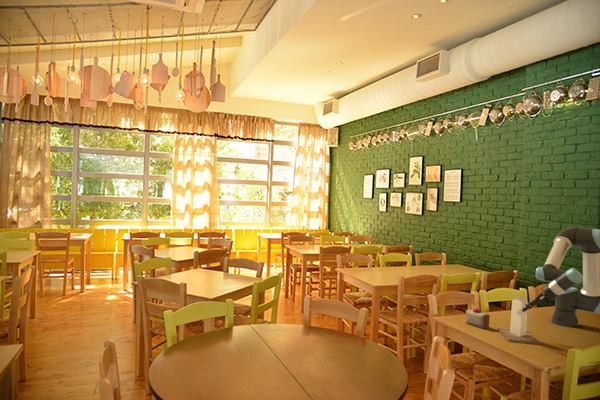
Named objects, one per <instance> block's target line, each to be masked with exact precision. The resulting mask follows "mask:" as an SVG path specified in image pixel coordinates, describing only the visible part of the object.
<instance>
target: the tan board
mask: <svg viewBox="0 0 600 400" xmlns="http://www.w3.org/2000/svg"><path fill="white" fill-rule="evenodd" d="M497 331H498V332H499V333H500V334H501V335H502V337H503V338H504V339H505V340H506V341H507V342H513V343H519V344H520V343H523V344H530V345H539V346H540V345H541V341H540V340H538V339H537V338H536V337H535V336H534V335H533V334H531V333H530V332H529V331H528V330H526V335H525V336H521V337H519V336H516V335H513V334H510V328H505V327H503V328H502V327H497Z"/></svg>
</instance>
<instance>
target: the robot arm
mask: <svg viewBox="0 0 600 400" xmlns="http://www.w3.org/2000/svg"><path fill="white" fill-rule="evenodd" d="M571 247H577V248H579V252H581V253H582V273H580V271H579V270H577V269H576V268H574V267H571V268H569V269H567V270H564V269H563V270H562V269H560V268H561V264H562V263H563V261H564V259H565V256H566V254H567V252H568V250H569V249H570V248H571ZM535 278H536V280H538V281H543V282H548V284H546V285H545V286H543V287H542V292H541V293H540V294H538V296H536V297H535V299H533V300H532V301H529V302H528V304H525V305H526V306H524V307H523V308H521V309H520V310H518V311H517V313H518V315H519V316H521V315H522V314H524V313H525V312H527V311H528V312H529V311H530V310H531V309H533V308H534V307H535V306H536V307H537V306H539V304H541V303H543V302H545V301H546V300H548V298H549V299H550V300H551V301H552V300H553V301H554V300H555V302H554V309H553V313H552V315H551V318H550V322H551V323H553V324H556V325H559V326H564V327H570V328H577V327H579V325H580V324H579V319H578V315H577V310H579V311H584V312H589V313H593V314H600V229H597V228H589V227H588V228H587V227H578V226H577V227H575V226H573V227H567V228H566V229H565V228H564V229H563V230H562V231H560V232H559V233H558V234H557V235H555V237H554V239H553V246H552V248H551V250H550V252H549V254H548V255H547V258H546V260H545V262H544V265H543V266H538V267H537V268H536V270H535ZM580 285H582V288H581V289H580V290H579V289H578V288H577V287H578V286H580Z"/></svg>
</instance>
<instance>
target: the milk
mask: <svg viewBox="0 0 600 400" xmlns="http://www.w3.org/2000/svg"><path fill="white" fill-rule="evenodd" d="M525 304H529V301H528V300H527V299H525V298H524V295H523V294H522V295H517V296H516V298H515V299H512V300H511V313H510V327H509V329H510V334H513V335H516V336H519V337H521V336H525V335H526V331H527V326H528V325H527V324H528V312H529V310H528V311H527V312H525V313H524V314H522V315H521V316H519V315H518V313H517V311H518V310H520V309H521V308H523V307H524V306H526V305H525Z"/></svg>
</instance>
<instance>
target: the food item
mask: <svg viewBox="0 0 600 400" xmlns="http://www.w3.org/2000/svg"><path fill="white" fill-rule="evenodd" d="M490 316H491V315H490V314H489V313H484V312H483V311H482V310H481V309H478V308H475V309H468V310H465V323H466V324H467V323H468V325H471V326H474V327H478V328H481V329H484V328H485V329H489V328H490Z"/></svg>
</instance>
